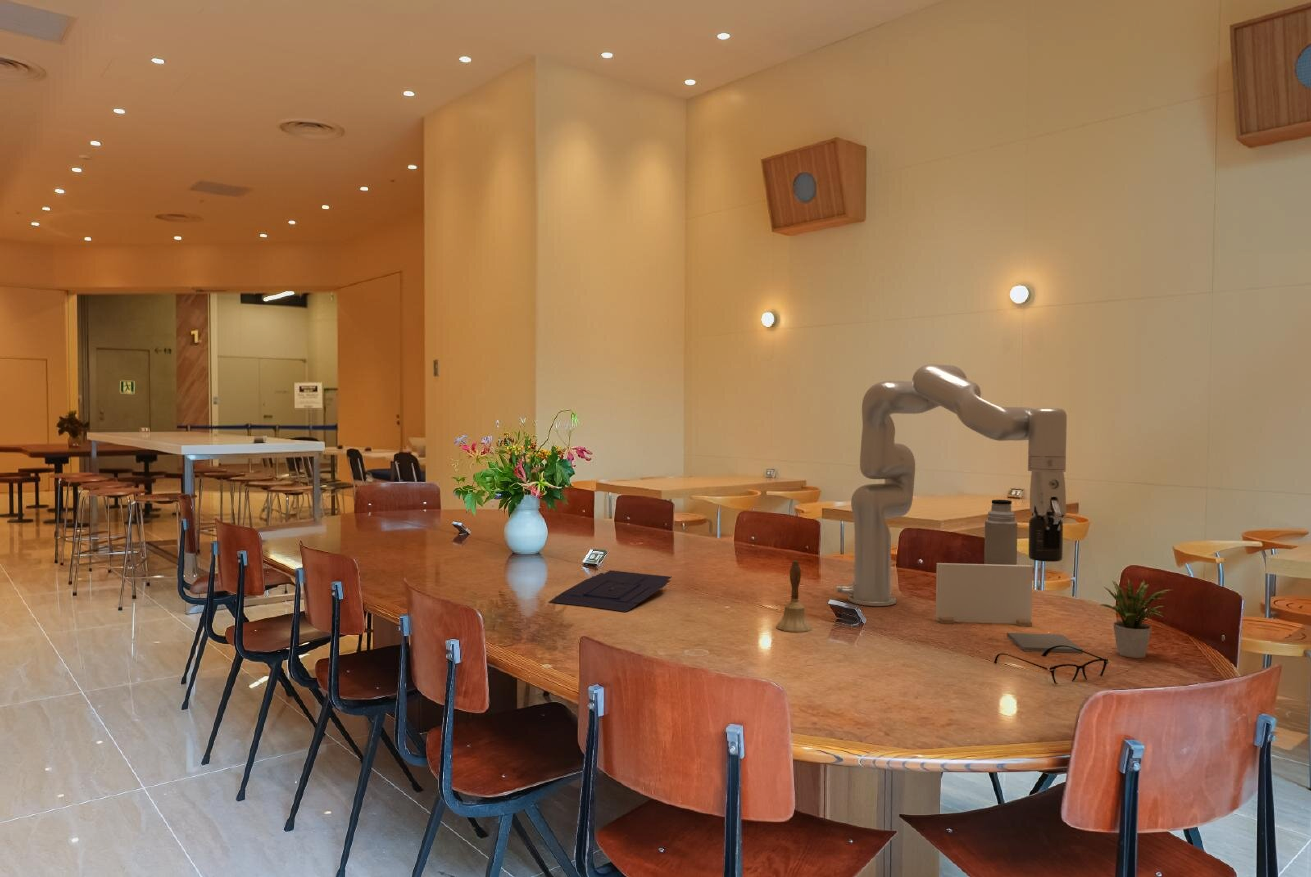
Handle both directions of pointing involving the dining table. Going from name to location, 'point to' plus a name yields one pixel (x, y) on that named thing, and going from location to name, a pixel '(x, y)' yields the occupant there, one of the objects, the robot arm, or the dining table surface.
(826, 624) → the dining table surface
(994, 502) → the thermos bottle
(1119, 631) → the house plant
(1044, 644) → the pad
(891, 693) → the dining table surface
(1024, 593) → the screen
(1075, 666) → the eyeglasses
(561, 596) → the black flat stepped slab
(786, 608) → the hand bell
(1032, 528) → the supplement bottle
